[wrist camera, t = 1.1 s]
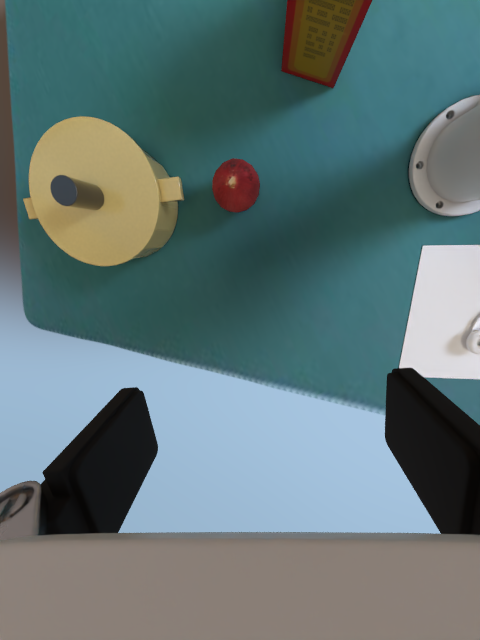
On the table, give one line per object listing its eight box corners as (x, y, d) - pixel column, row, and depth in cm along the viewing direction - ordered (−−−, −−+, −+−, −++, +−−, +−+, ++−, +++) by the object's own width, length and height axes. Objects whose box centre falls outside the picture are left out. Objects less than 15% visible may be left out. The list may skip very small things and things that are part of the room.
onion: (220, 165, 35) (206, 145, 27) (262, 169, 34) (261, 150, 27) (216, 212, 36) (203, 205, 29) (257, 216, 36) (254, 211, 28)
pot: (50, 158, 36) (-2, 139, 29) (187, 136, 34) (166, 109, 27) (80, 263, 41) (40, 268, 34) (203, 250, 38) (188, 253, 31)
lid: (18, 133, 29) (-38, 109, 24) (147, 109, 28) (118, 78, 22) (60, 270, 34) (21, 276, 29) (173, 259, 32) (154, 263, 27)
